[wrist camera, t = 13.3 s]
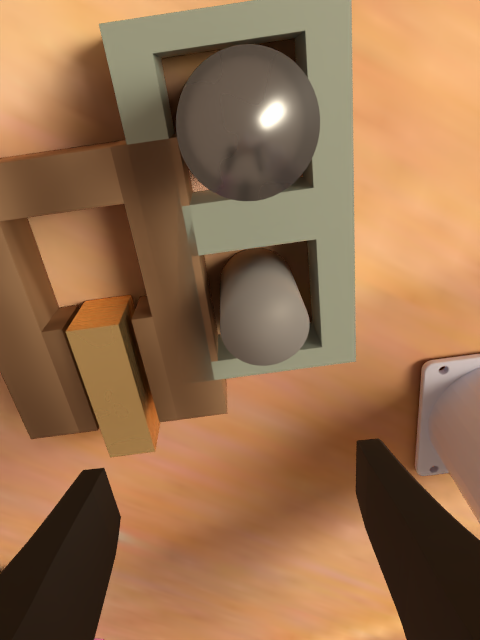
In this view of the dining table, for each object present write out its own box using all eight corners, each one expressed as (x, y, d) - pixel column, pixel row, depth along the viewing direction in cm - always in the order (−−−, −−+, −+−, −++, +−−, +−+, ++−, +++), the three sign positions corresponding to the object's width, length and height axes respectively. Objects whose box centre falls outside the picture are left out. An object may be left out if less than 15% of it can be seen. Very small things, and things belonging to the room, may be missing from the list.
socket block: (182, 131, 18) (177, 137, 16) (226, 384, 24) (227, 413, 21) (-53, 165, 18) (-89, 175, 16) (47, 407, 24) (30, 439, 22)
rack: (333, -1, 16) (371, -31, 12) (342, 335, 22) (369, 388, 18) (114, 32, 16) (80, 13, 12) (185, 356, 23) (178, 413, 19)
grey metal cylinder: (286, 146, 18) (329, 182, 11) (206, 167, 19) (198, 215, 11) (268, 52, 17) (306, 24, 10) (181, 77, 17) (155, 68, 10)
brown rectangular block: (130, 294, 21) (118, 324, 18) (162, 411, 24) (155, 451, 22) (84, 301, 21) (65, 331, 18) (122, 416, 24) (110, 457, 22)
